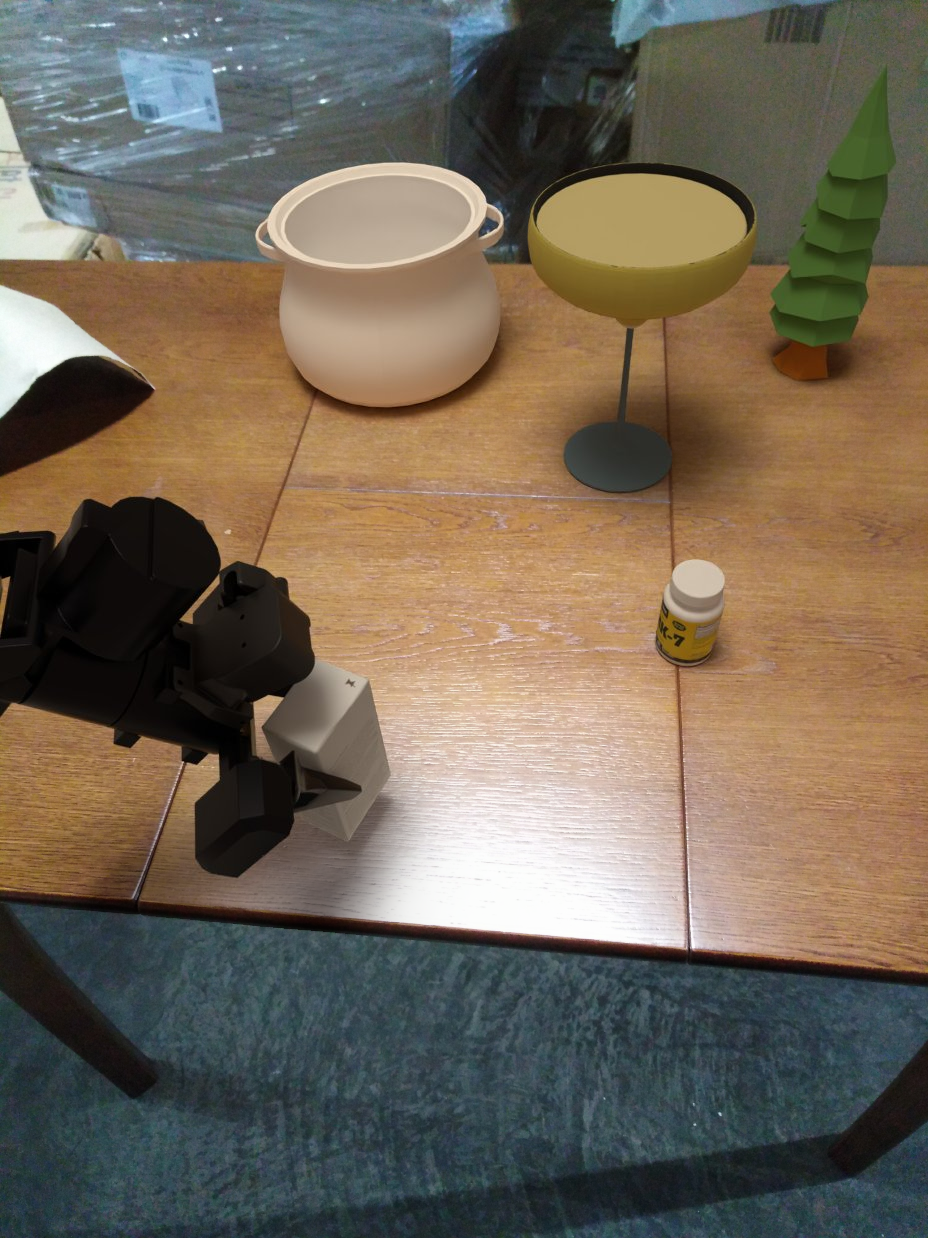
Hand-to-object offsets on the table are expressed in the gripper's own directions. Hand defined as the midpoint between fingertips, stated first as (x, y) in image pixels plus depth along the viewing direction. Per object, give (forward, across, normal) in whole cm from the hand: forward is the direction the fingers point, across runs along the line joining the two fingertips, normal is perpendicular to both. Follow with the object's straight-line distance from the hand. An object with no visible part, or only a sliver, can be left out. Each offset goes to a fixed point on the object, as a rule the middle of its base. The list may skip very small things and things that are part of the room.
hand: (351, 744), depth 58 cm
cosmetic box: (+4, 0, +6) cm, 7 cm away
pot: (+15, +58, -1) cm, 59 cm away
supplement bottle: (+26, +10, -13) cm, 31 cm away
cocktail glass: (+28, +34, -14) cm, 46 cm away
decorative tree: (+45, +44, -32) cm, 70 cm away
